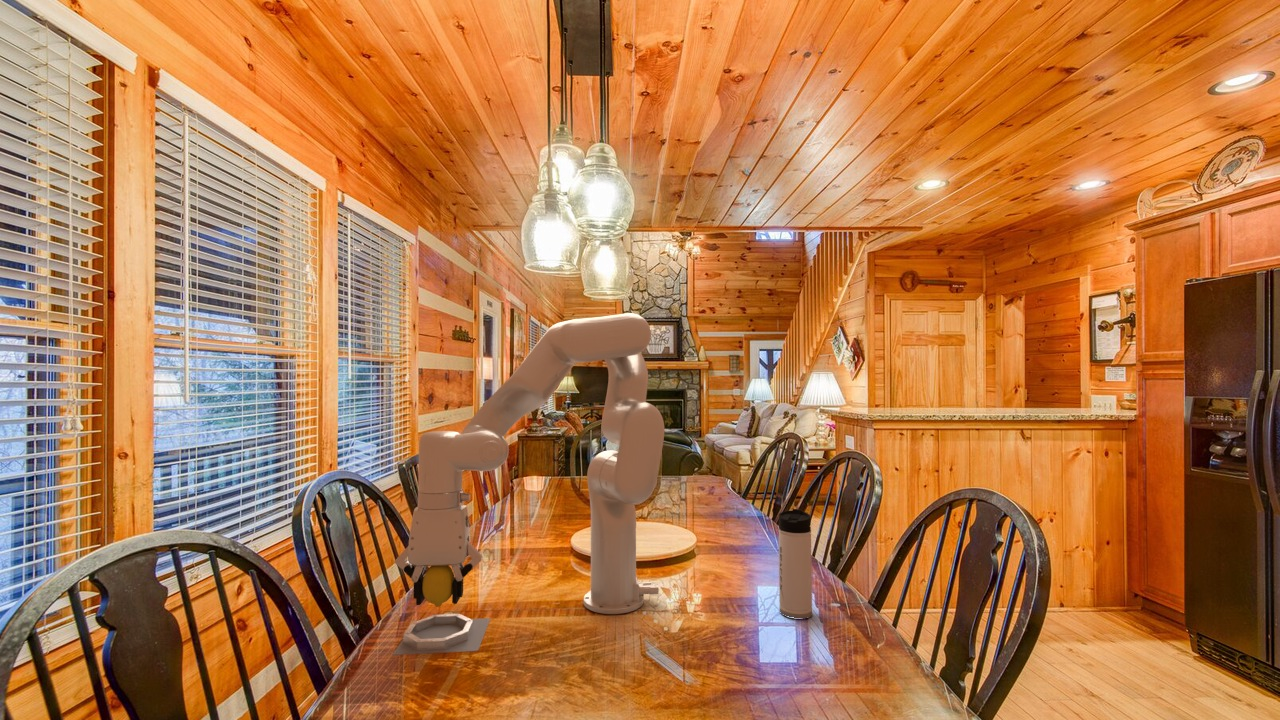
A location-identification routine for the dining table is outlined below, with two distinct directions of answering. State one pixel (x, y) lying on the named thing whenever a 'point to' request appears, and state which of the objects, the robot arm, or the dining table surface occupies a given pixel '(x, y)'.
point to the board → (446, 631)
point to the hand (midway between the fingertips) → (438, 600)
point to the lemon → (438, 584)
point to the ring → (438, 643)
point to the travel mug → (795, 564)
